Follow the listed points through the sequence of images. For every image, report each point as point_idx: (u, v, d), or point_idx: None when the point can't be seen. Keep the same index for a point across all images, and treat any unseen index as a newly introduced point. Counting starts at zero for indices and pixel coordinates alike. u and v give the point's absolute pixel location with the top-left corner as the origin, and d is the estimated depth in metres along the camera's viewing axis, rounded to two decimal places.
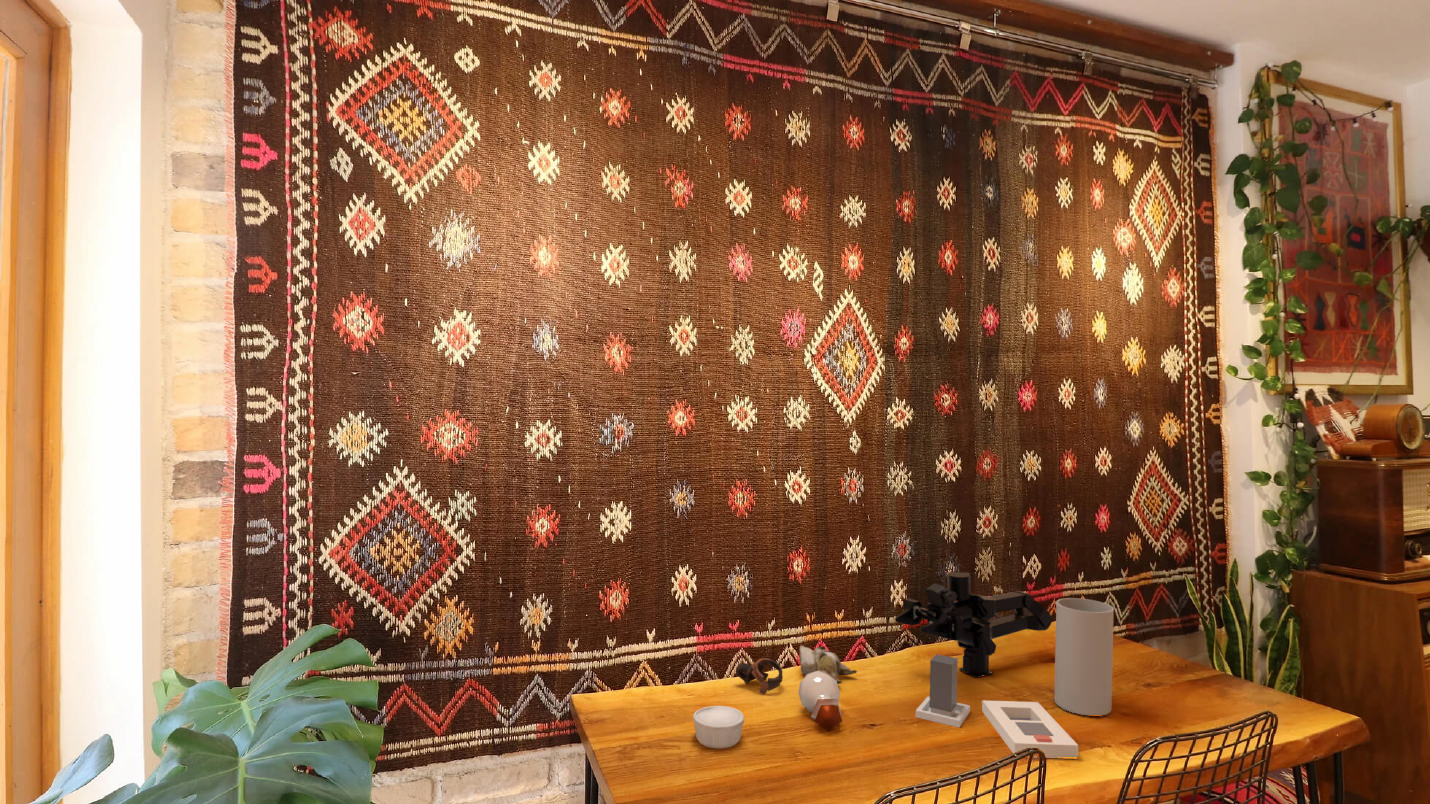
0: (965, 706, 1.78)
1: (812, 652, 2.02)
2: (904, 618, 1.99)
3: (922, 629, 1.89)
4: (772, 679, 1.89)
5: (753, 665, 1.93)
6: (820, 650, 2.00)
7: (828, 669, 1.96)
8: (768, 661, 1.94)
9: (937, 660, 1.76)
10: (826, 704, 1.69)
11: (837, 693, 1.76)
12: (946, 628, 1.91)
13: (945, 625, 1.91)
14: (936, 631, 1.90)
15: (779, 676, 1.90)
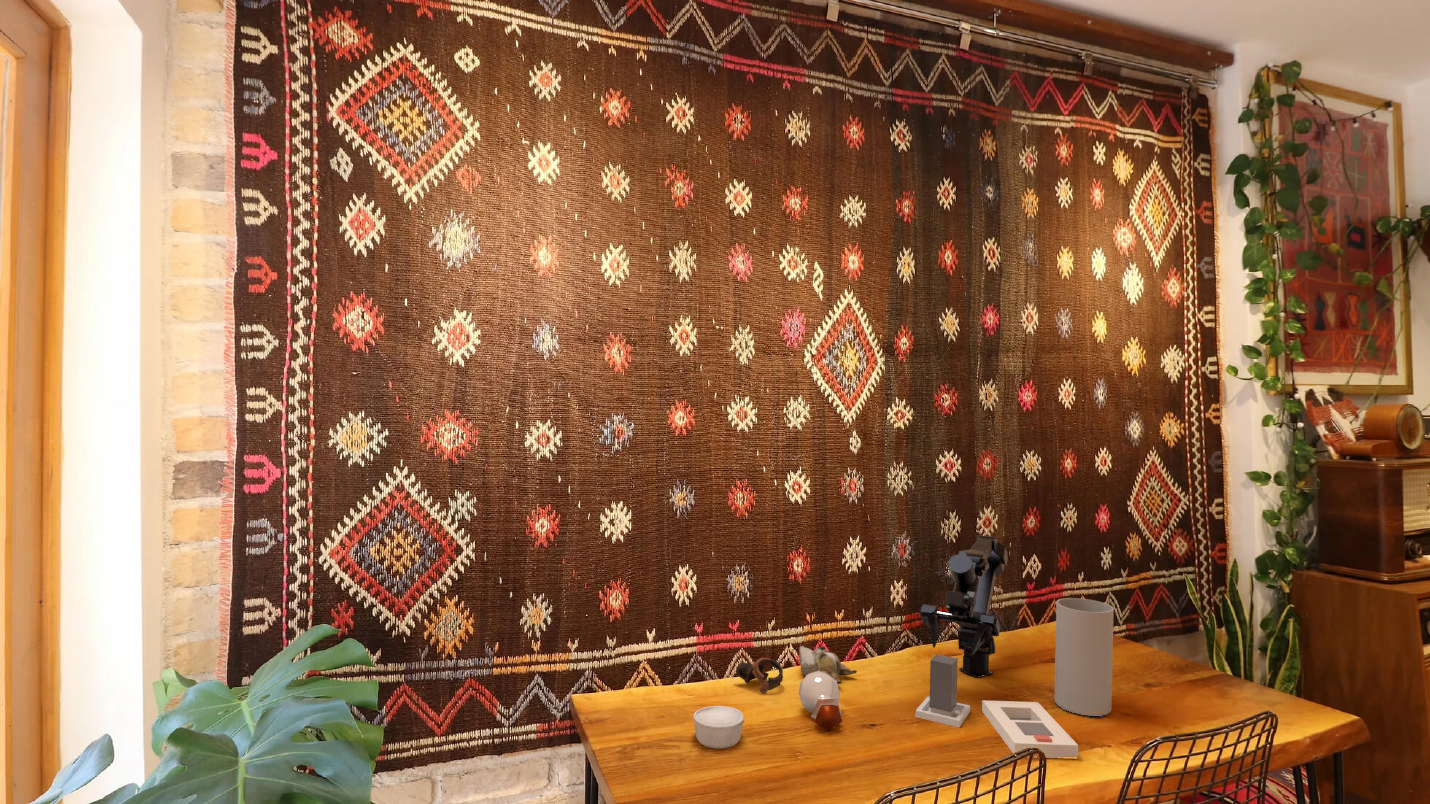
0: (965, 706, 1.78)
1: (812, 652, 2.01)
2: (936, 636, 1.88)
3: (972, 653, 1.81)
4: (772, 678, 1.89)
5: (753, 665, 1.93)
6: (821, 651, 1.99)
7: (828, 669, 1.96)
8: (768, 661, 1.94)
9: (937, 660, 1.76)
10: (827, 704, 1.69)
11: (837, 693, 1.76)
12: (985, 632, 1.84)
13: (983, 630, 1.84)
14: (980, 642, 1.84)
15: (779, 675, 1.90)
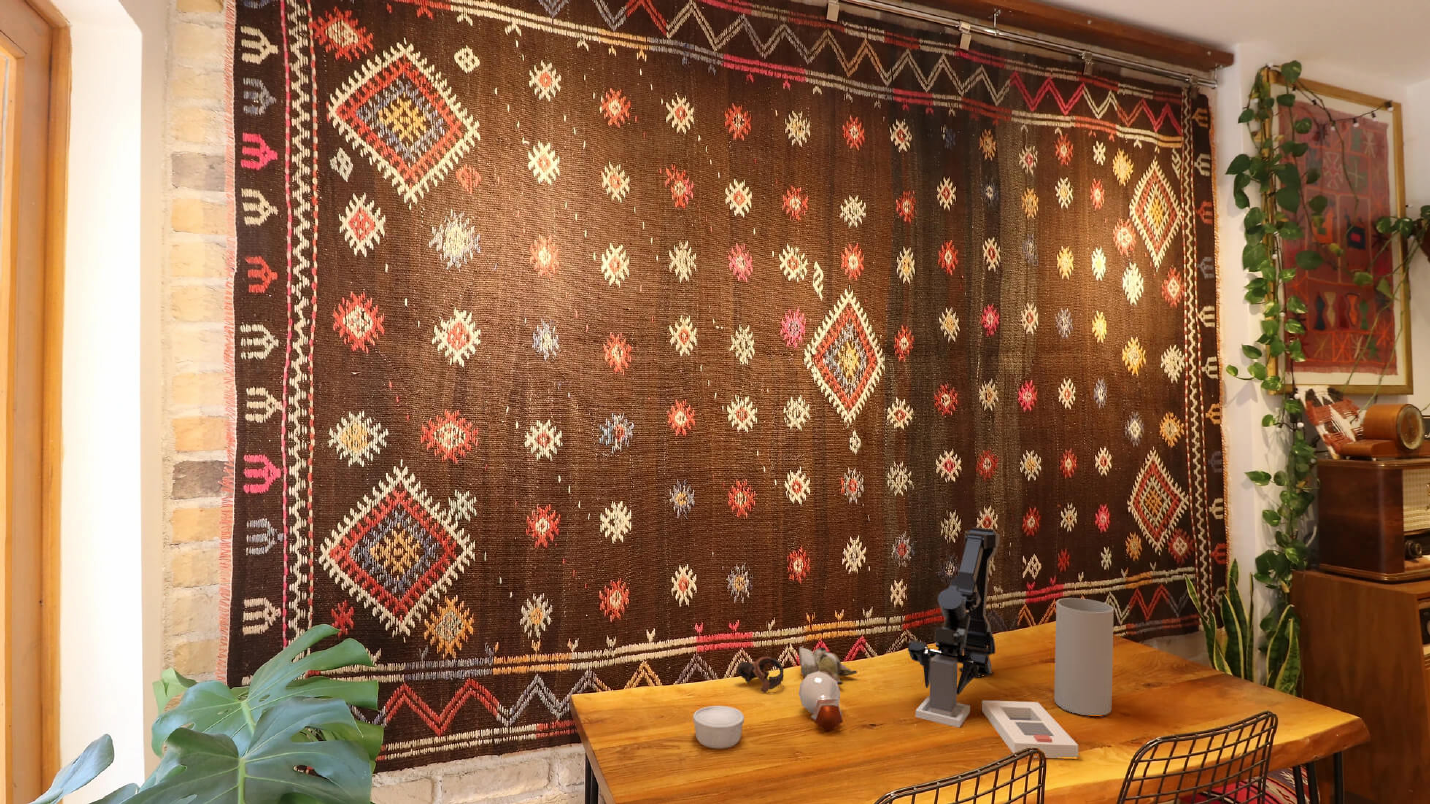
0: (965, 706, 1.78)
1: (812, 653, 2.01)
2: (929, 675, 1.80)
3: (958, 693, 1.74)
4: (773, 677, 1.90)
5: (754, 664, 1.94)
6: (821, 651, 1.99)
7: (829, 670, 1.95)
8: (769, 660, 1.95)
9: (937, 660, 1.76)
10: (827, 704, 1.69)
11: (837, 694, 1.75)
12: (972, 670, 1.77)
13: None
14: (966, 681, 1.76)
15: (780, 674, 1.91)
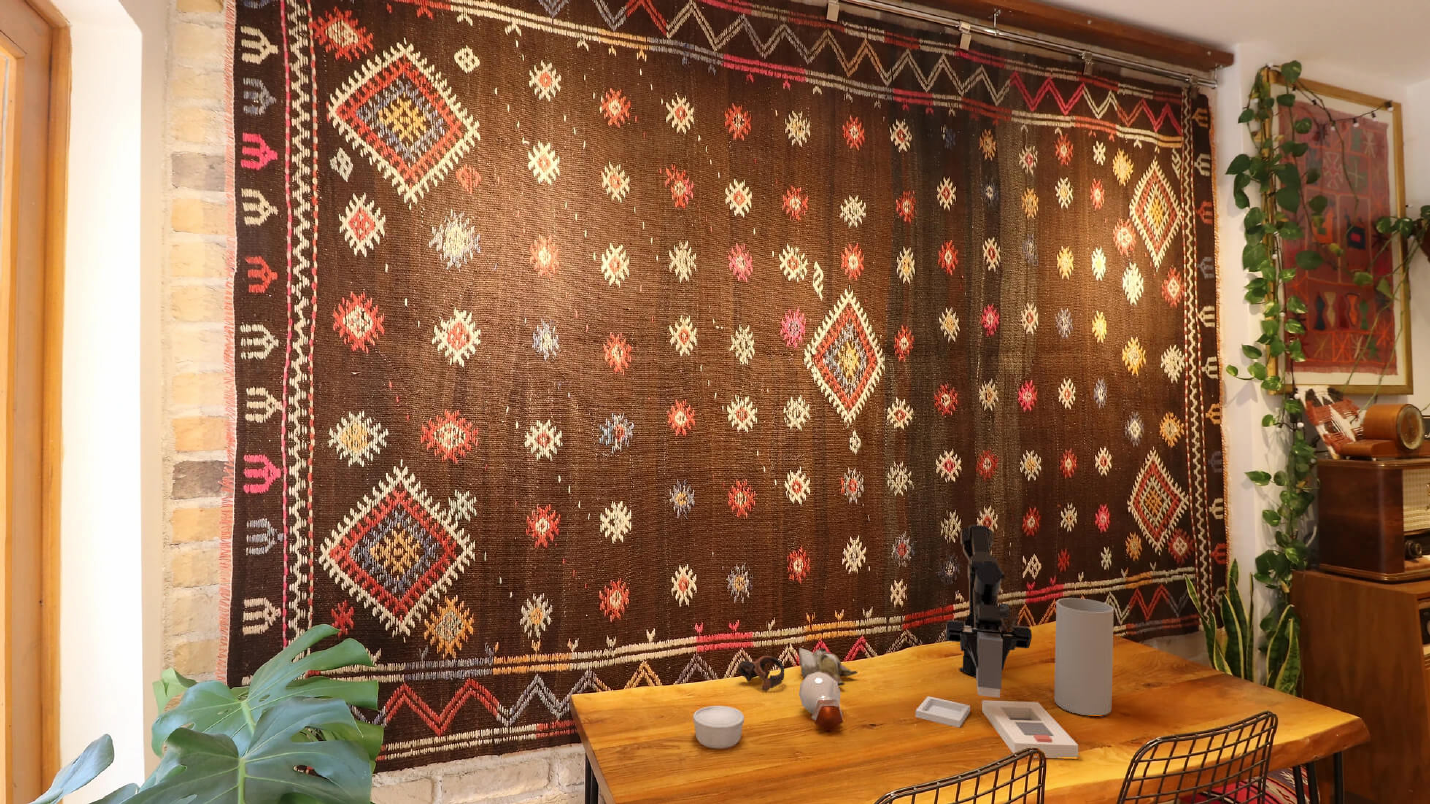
0: (965, 706, 1.78)
1: (812, 654, 2.00)
2: None
3: (1002, 668, 1.71)
4: (774, 676, 1.90)
5: (755, 663, 1.95)
6: (821, 652, 1.98)
7: (830, 671, 1.95)
8: (770, 659, 1.96)
9: (985, 638, 1.72)
10: (827, 705, 1.69)
11: (838, 694, 1.75)
12: (1009, 644, 1.75)
13: None
14: None
15: (781, 673, 1.92)
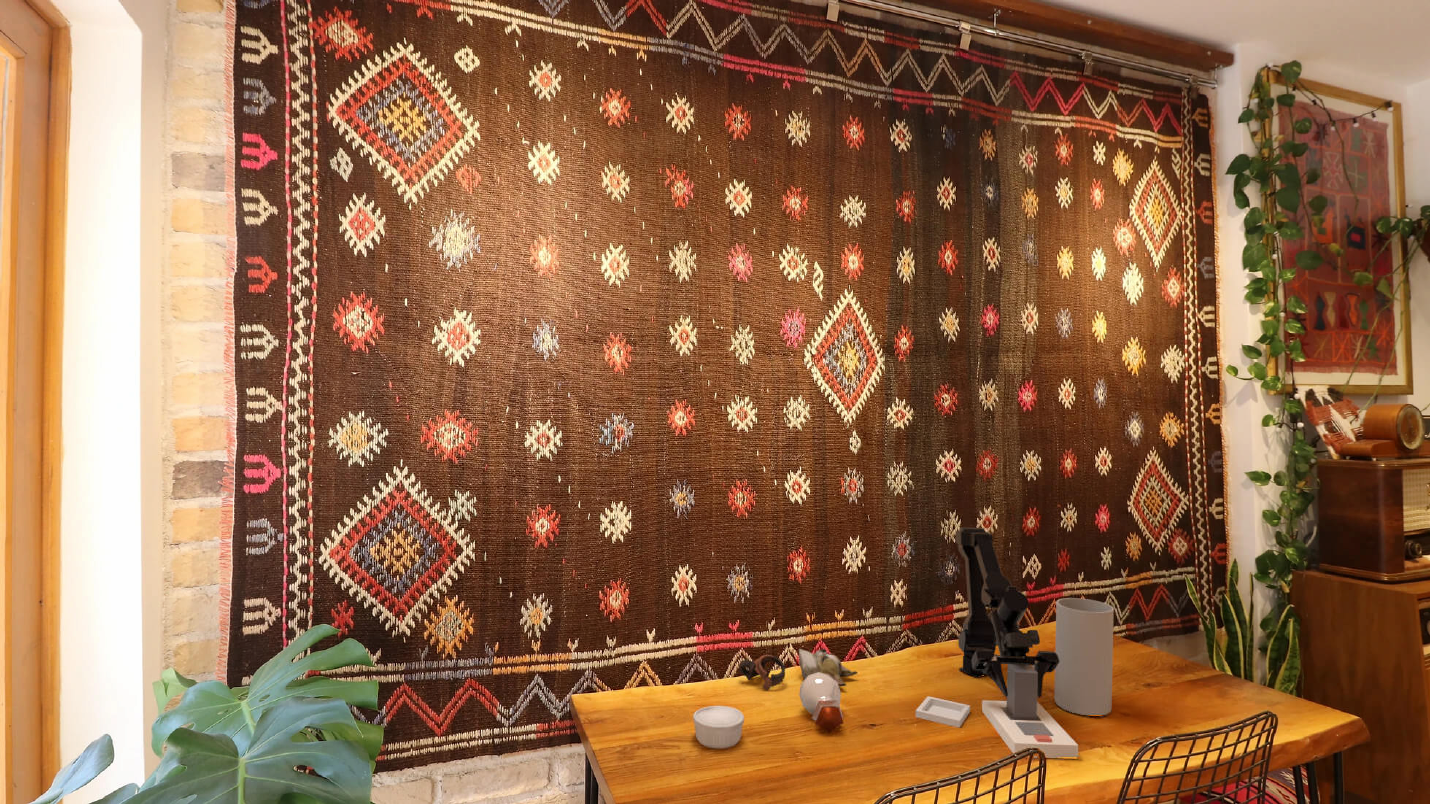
0: (965, 706, 1.78)
1: (812, 655, 1.99)
2: None
3: (1040, 696, 1.71)
4: (775, 675, 1.91)
5: (756, 662, 1.95)
6: (822, 653, 1.97)
7: (831, 671, 1.94)
8: (771, 657, 1.97)
9: (1020, 670, 1.70)
10: (827, 705, 1.69)
11: (838, 695, 1.75)
12: None
13: None
14: None
15: (782, 672, 1.93)
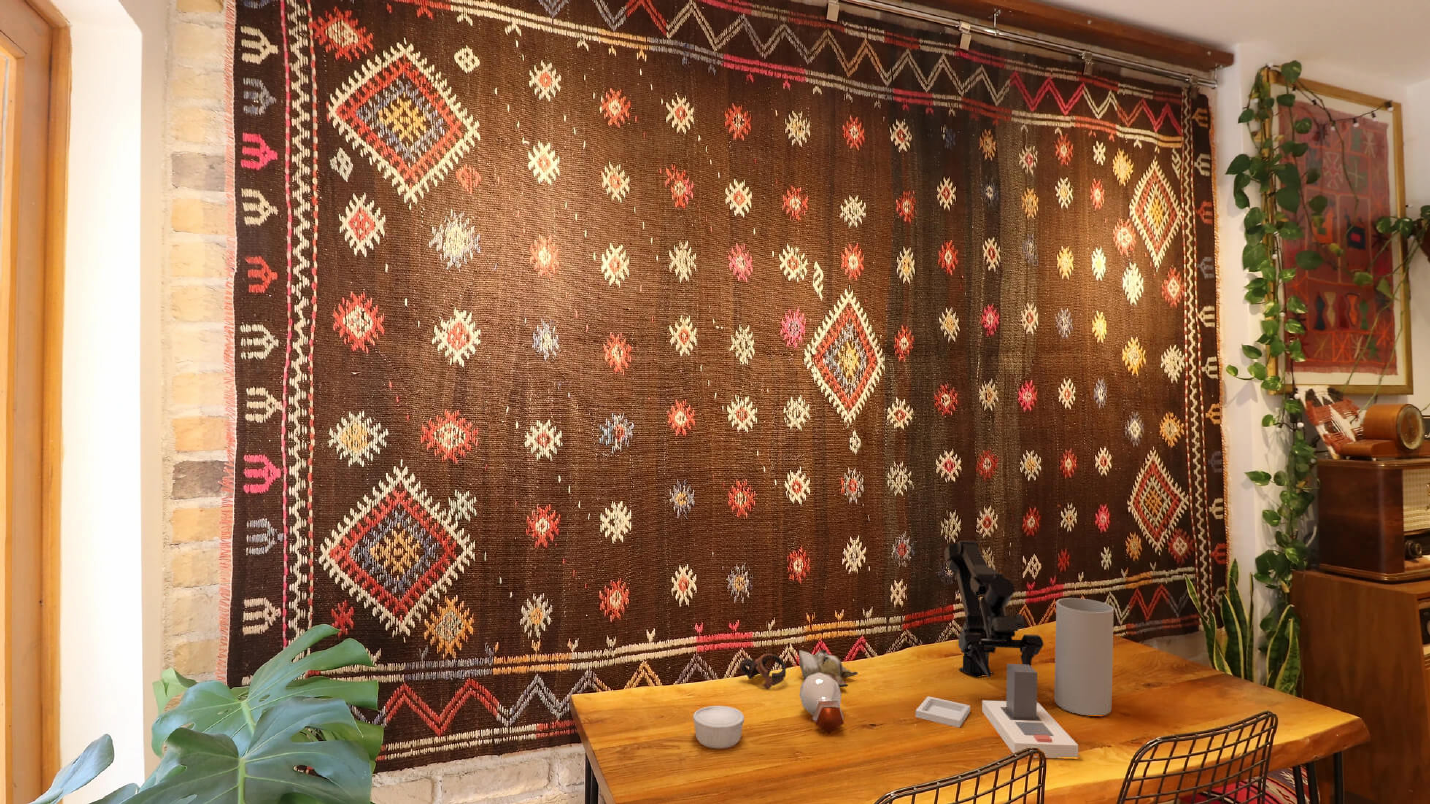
0: (965, 706, 1.78)
1: (813, 656, 1.98)
2: None
3: None
4: (776, 674, 1.92)
5: (757, 660, 1.96)
6: (823, 654, 1.97)
7: (832, 672, 1.94)
8: (771, 656, 1.97)
9: (1019, 670, 1.71)
10: (828, 706, 1.68)
11: (838, 695, 1.75)
12: None
13: None
14: None
15: (783, 671, 1.94)
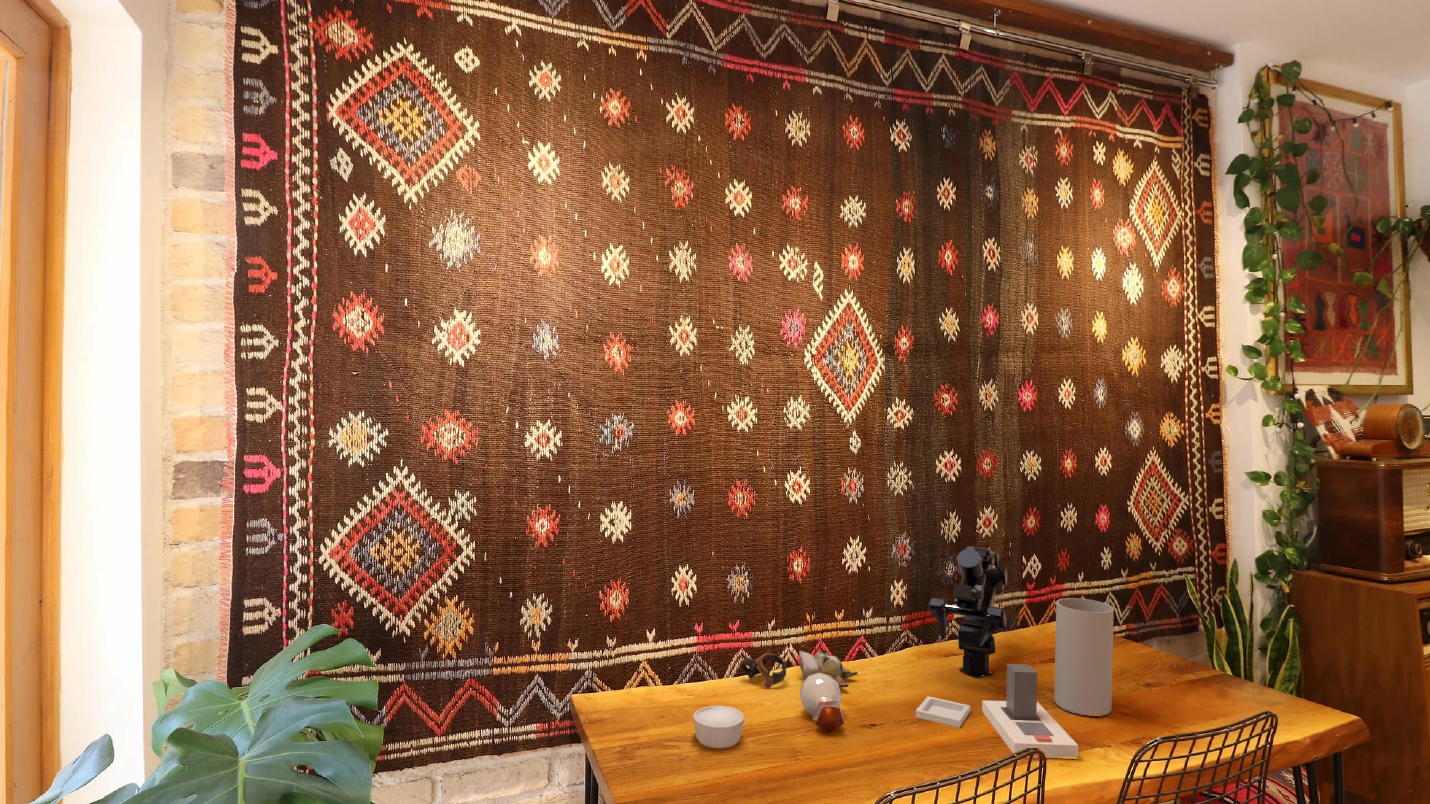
0: (965, 706, 1.78)
1: (813, 657, 1.98)
2: (944, 628, 1.94)
3: (980, 645, 1.87)
4: (777, 673, 1.92)
5: (757, 660, 1.97)
6: (823, 654, 1.96)
7: (833, 673, 1.93)
8: (772, 656, 1.98)
9: (1019, 670, 1.71)
10: (828, 706, 1.68)
11: (839, 695, 1.75)
12: (992, 624, 1.90)
13: None
14: (988, 634, 1.89)
15: (783, 670, 1.94)
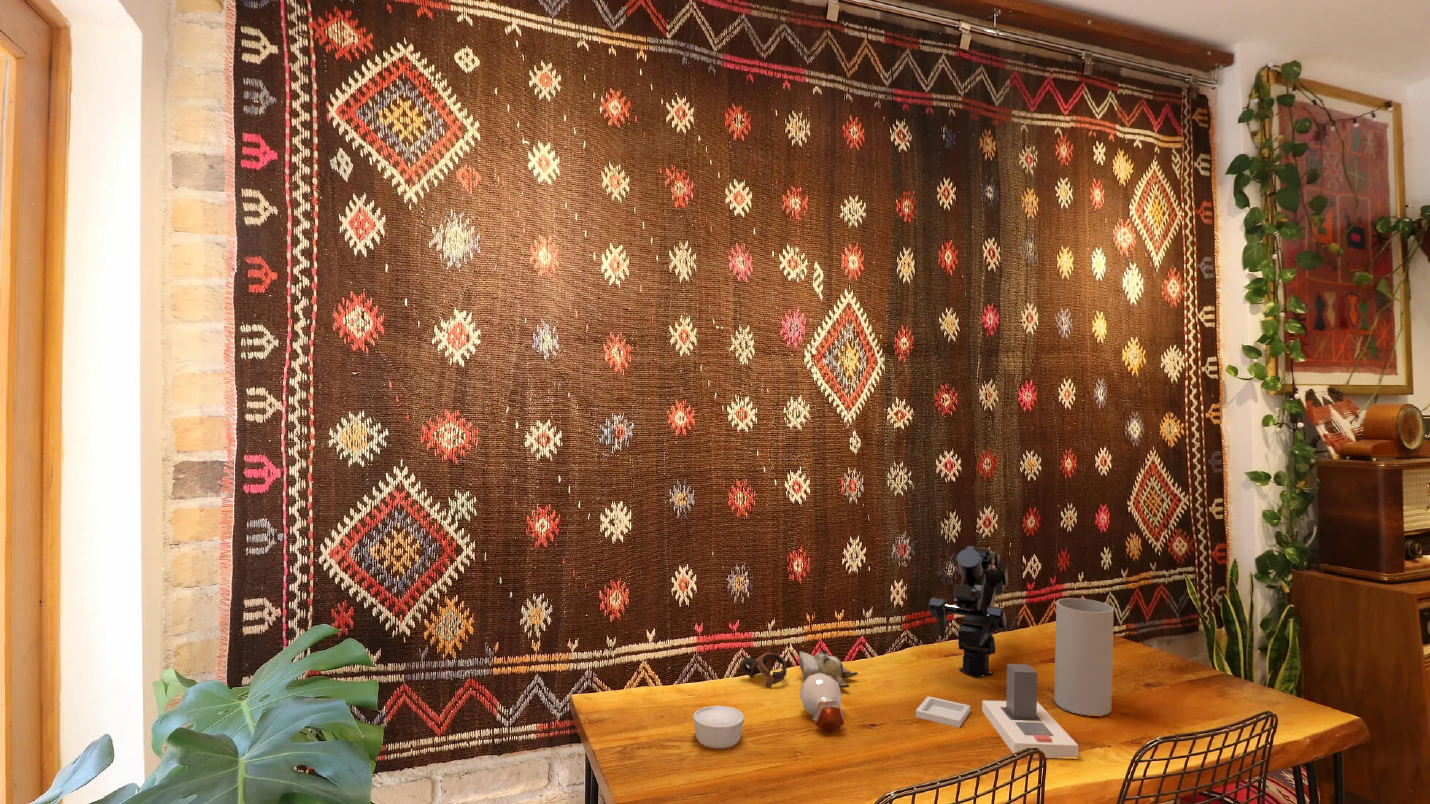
0: (965, 706, 1.78)
1: (813, 657, 1.98)
2: (944, 628, 1.94)
3: (979, 644, 1.87)
4: (777, 673, 1.93)
5: (758, 659, 1.97)
6: (823, 655, 1.96)
7: (834, 673, 1.93)
8: (772, 655, 1.98)
9: (1019, 670, 1.71)
10: (828, 706, 1.68)
11: (839, 695, 1.74)
12: (992, 624, 1.90)
13: (990, 622, 1.90)
14: (987, 634, 1.89)
15: (784, 670, 1.94)
